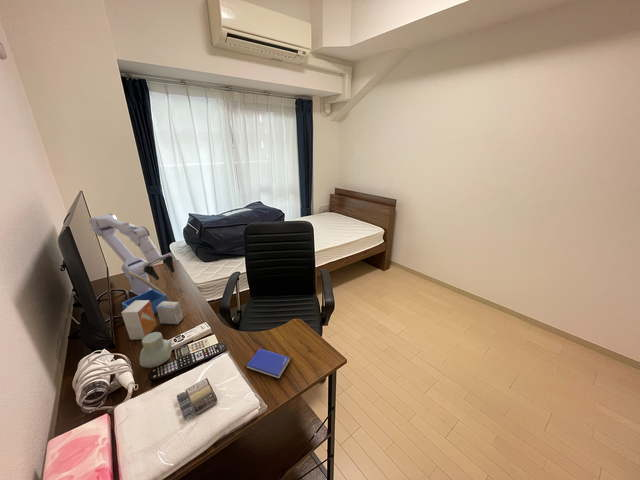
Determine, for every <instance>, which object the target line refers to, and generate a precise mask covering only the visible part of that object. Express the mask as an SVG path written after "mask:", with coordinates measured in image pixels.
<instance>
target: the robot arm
mask: <svg viewBox="0 0 640 480" xmlns="http://www.w3.org/2000/svg"><path fill="white" fill-rule="evenodd" d="M88 220H89V222H90V224H91V227H92V229H91V230H92V232H93V233H94V234H95V235H96V236H98V237H101V239H102V240H103V241H104V242H105V243H106V245H108V246H109V247H110V248H111V250H112V251H113V252H114V253H115V254H116V255H117V256H118V258H119V259H120V260H121V261H122V263H123V264H122V265H121V270H122V272H123V274H124V276H125V277H126V278H127V279H128V282H129V285H130V290H129V292H131V293H132V294H134V295H136V296H138V295H140V294H142V293H145V292H147V291H149V290H151V289H152V288H150V287H149V286H147V285H146V284H144V283H143V282H142V281H140V280H139V279H137V278H136V277H134V276H133V275H131V274H130V273H129V271H130V272H132V273H134V274H137V275H139V276H141V277H143V278H145V279H146V280H147V281H149V282H150V283H151V281H150V278H149V276H151V277H152V278H153V279H154V280H156V281H158V280H160V277H159V275H158V274H157V272H156V271H155V269H154V265H156V264H158V263H160V262H162V261H163V263H164V264H165V265H166V267H168V269H169V271H170V272H171V273H174V272H176V270H175V268H174V263H173V254H172V253H171V252H168V253H165V254H162V255H161V253H160V252H159V250H158V248H157V247H156V246H155V244H154V243H153V241H152V239H151V238H150V231H149V229H148V228H146V227H145V226H136V225H134V224H133V223H130V222H129V221H126V222H122V221H121V220H119V219H117V216H116V214H113V213H111V212H110V213H107V214H103V215H98V216H94V217H89V218H88ZM117 231H118V232H119V233H120V234H122V235H124V236H126V237H128V238H129V240H130V241H131V242H133V243H134V245H135V246H137V247H138V248H139V250H140V251H141V254H143V256H144V257H145V259H146V260H147V261H146V260H145V259H144V258H142V257H141V256H140V257H139V256H135V255H134V254H133V253H132V252H131V251H130V250H129V249H128V247H126V245H125V244H124V243H123V242H122V241H121V240H120V238H119V237H118V236H117V235H116V234H115V233H116V232H117Z"/></svg>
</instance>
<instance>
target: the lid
mask: <svg viewBox="0 0 640 480" xmlns="http://www.w3.org/2000/svg"><path fill="white" fill-rule="evenodd" d="M129 273H130V274H131V275H133V276H134V277H136V278H137V279H139V280H140V281H142V282H143V283H144V284H146V285H147V286H149V287H150V288H152V289H153V290H156V291H158V292H160V293H162V294H164V295H166V296H167V293H165V292H164V291H163V290H162V289H160V288H159V287H157V286H156V285H154V284H153V283H151V281H150V280H149V281H150V282H149V281H147V280H146V279H145V278H143V277H141V276H139V275H137V274H134V273H132V272H130V271H129Z"/></svg>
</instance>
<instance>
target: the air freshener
mask: <svg viewBox="0 0 640 480" xmlns="http://www.w3.org/2000/svg"><path fill="white" fill-rule="evenodd" d="M141 344H142V349H141V350H140V354H139V359H138V360H139V365H140V366H141V367H143V368H148V369H151V368H155V367H159V366H161V365H163V364H164V363H166V362H167V361H168V360H169V359H170V358H171V355H172V349H173V348H172V347H173V346H172V342H171V341H170V340H169V339H165V338H163V335H162V333H161V332H159V331H154V332H153V331H152V332H151V333H150V334H148V335H146V336H145V337H144V338H143V339H141Z"/></svg>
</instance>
